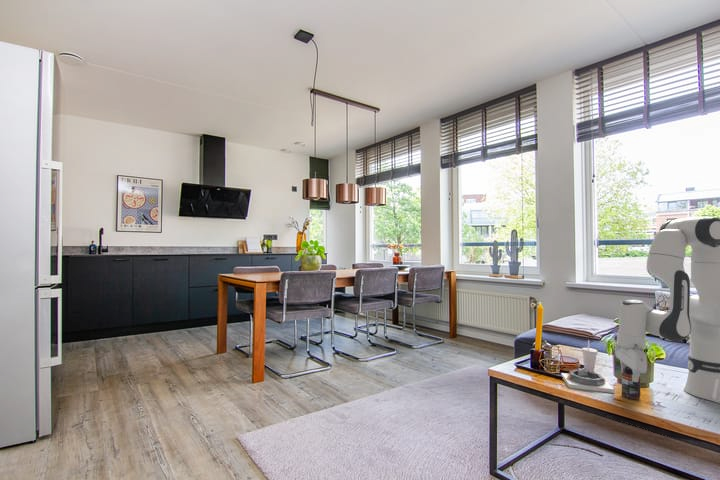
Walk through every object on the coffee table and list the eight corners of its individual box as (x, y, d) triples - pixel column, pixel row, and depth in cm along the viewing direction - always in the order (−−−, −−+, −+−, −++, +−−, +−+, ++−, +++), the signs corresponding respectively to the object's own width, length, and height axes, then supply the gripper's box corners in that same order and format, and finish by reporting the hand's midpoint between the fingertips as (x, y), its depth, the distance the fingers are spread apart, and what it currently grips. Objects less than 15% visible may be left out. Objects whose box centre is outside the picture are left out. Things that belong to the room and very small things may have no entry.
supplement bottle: (634, 394, 148) (634, 365, 148) (643, 400, 142) (644, 370, 142) (618, 393, 148) (618, 364, 148) (627, 399, 142) (627, 369, 142)
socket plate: (601, 380, 162) (602, 377, 162) (614, 393, 148) (614, 389, 148) (561, 376, 166) (561, 372, 166) (569, 387, 153) (569, 384, 153)
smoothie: (579, 367, 179) (579, 338, 179) (593, 368, 178) (593, 339, 178) (585, 372, 173) (585, 341, 173) (600, 372, 172) (600, 342, 172)
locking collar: (599, 377, 161) (599, 372, 161) (609, 387, 150) (609, 381, 150) (564, 374, 165) (564, 368, 165) (571, 383, 153) (571, 377, 153)
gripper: (653, 349, 134) (651, 388, 134) (629, 336, 154) (628, 370, 154) (633, 347, 136) (631, 385, 136) (612, 334, 155) (610, 367, 155)
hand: (629, 377), depth 145 cm, fingers open, 8 cm apart
